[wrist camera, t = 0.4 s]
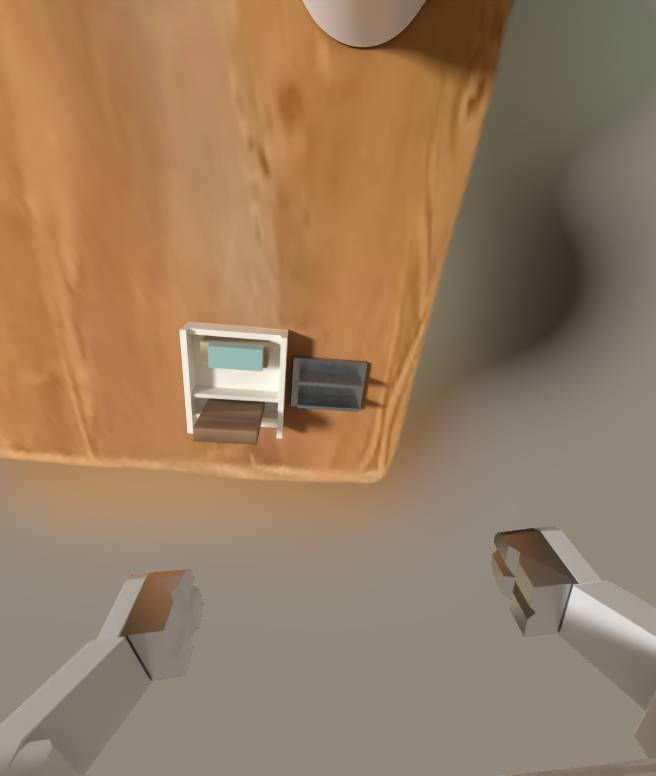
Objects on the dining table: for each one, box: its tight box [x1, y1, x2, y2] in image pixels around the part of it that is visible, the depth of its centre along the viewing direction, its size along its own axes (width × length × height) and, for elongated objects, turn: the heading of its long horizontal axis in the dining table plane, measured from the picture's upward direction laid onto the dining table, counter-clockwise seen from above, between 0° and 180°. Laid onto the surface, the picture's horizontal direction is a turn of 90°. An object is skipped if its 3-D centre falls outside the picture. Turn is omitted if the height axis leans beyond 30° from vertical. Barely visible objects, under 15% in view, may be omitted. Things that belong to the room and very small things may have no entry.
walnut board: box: [193, 398, 265, 445], centre depth 51 cm, size 2×8×10 cm, turn 84°
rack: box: [180, 322, 288, 438], centre depth 54 cm, size 16×14×4 cm
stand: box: [291, 356, 367, 412], centre depth 54 cm, size 8×11×5 cm
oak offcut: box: [200, 335, 270, 368], centre depth 51 cm, size 3×9×3 cm, turn 84°
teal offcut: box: [207, 341, 264, 371], centre depth 49 cm, size 3×7×2 cm, turn 84°
